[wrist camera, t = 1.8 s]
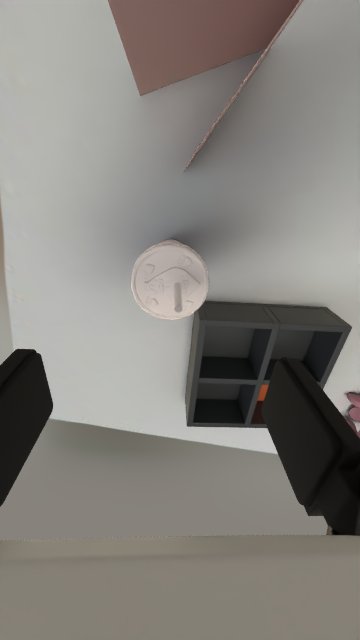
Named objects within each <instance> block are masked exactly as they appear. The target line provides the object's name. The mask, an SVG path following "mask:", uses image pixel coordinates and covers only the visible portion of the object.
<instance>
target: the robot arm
mask: <svg viewBox="0 0 360 640" xmlns="http://www.w3.org/2000/svg"><path fill="white" fill-rule="evenodd" d="M52 410H53V401H52V397H51V393H50V389H49V385H48V381H47V377H46V373H45V369H44V365H43V361H42V357H41V355H40V354H39V353H37V352H36V351H35V350H33V349H16V350H15V351H14V352H13V353H12V354H11V355H10V356H9V357H8V358H7V359H6V360H5V361H4V362H3V363H2V364H1V365H0V506H1V505H2V504H3V502H4V501H5V499H6V497H7V495H8V493H9V491H10V489H11V488H12V486H13V484H14V482H15V480H16V478H17V476H18V475H19V473H20V471H21V469H22V467H23V465H24V463H25V461H26V460H27V458H28V456H29V454H30V452H31V450H32V448H33V446H34V445H35V443H36V441H37V439H38V437H39V435H40V433H41V431H42V430H43V428H44V426H45V424H46V422H47V420H48V418H49V417H50V415H51V413H52ZM262 416H263V418H264V421H265V423H266V426H267V428H268V430H269V433H270V435H271V438H272V440H273V443H274V445H275V447H276V450H277V452H278V455H279V457H280V459H281V461H282V464H283V466H284V469H285V471H286V474H287V476H288V479H289V481H290V483H291V486H292V488H293V491H294V493H295V495H296V498H297V500H298V502H299V503H300V504H301V505H304V507H305V510H306V512H307V514H308V516H324V518H325V520H326V522H327V524H328V529H327V534H326V535H256V536H255V535H246V536H183V537H133V538H132V537H130V538H129V537H128V538H83V539H41V540H5V541H4V540H1V541H0V640H360V438H359V436H358V435H357V434H356V433H355V431H354V430H353V429H352V427H351V426H350V425H349V423H348V422H347V421H346V420H345V418H344V417H343V416H342V414H341V413H340V412H339V411H338V409H337V408H336V407H335V405H334V404H333V403H332V401H331V400H330V399H329V398H328V396H327V395H326V394H325V392H324V391H323V390H322V389H321V387H320V386H319V385H318V383H317V382H316V381H315V380H314V378H313V377H312V376H311V374H310V373H309V372H308V370H307V369H306V368H305V367H304V365H303V364H302V363H301V361H300V360H299V359H298V358H296V357H282V358H281V359H280V361H279V360H278V361H276V363H275V366H274V370H273V373H272V376H271V379H270V382H269V385H268V389H267V392H266V395H265V398H264V401H263V404H262Z"/></svg>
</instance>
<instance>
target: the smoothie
mask: <svg viewBox="0 0 360 640" xmlns="http://www.w3.org/2000/svg"><path fill="white" fill-rule="evenodd" d="M131 289H132V293H133V296H134V298H135V300H136V302H137V303H138V304H139V306H140V307H141V308H142V309H143V310H145V311H146V312H147V313H149V314H150V315H152V316H154V317H157V318H161V319H166V320H175V319H180V318H184V317H186V316H189V315H190V314H192V313H194V312H195V311H196V310H197V309H198V308H199V307H200V306H201V305H202V304H203V302H204V301H205V299H206V297H207V294H208V291H209V275H208V270H207V267H206V265H205V263H204V260H203V259H202V258H201V257H200V255H199V254H198V253H197V252H196V251H194V250H193V249H191V248H190V247H189V246H186V245H183V244H181V243H180V242H179V241H177V240H172V239H169V240H165V241H163V242H161V243H159V244H156V245H154V246H152V247H150V248H148V249H146V250H145V251H144V252H143V253H142V254H141V255H140V256H139V257H138V259H137V261H136V262H135V264H134V267H133V270H132V274H131Z"/></svg>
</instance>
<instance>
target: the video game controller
mask: <svg viewBox="0 0 360 640" xmlns="http://www.w3.org/2000/svg"><path fill="white" fill-rule="evenodd" d="M347 397H348V399H349V401H350V402H351V403H352V404H353V405H355V406H356V407H354V408H352V409H350V412H349V414H350V417H351V418H352V419H353V420H354V421H356V422H359V423H360V396H358V395H355V394H351V393H349V394H348V395H347ZM345 420H346V421H347V422H348V423H349V425H350V426H351V427H352V429H353V430H354V431H355V433H356V434H357V435H358V436H359V438H360V431H359V432H357V430H356V427H355V425H354V424H353V422H351V421H350V420H348V419H345Z"/></svg>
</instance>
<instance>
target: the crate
mask: <svg viewBox="0 0 360 640" xmlns="http://www.w3.org/2000/svg"><path fill="white" fill-rule="evenodd" d="M351 329H352V326H350V325H349V324H348V323H346V322H345V321H344V320H343V319H341V318H340V317H339V316H337V315H336V314H335V313H333V312H332V311H331V310H329V309H328V308H327V307H309V306H289V305H269V304H249V303H229V302H210V301H204V302H203V304H202V305H201V306H200V307H199V308H198V309H197V310H196V311H195V312H194V321H193V331H192V340H191V349H190V359H189V368H188V378H187V387H186V396H185V404H186V420H187V426H188V427H192V426H193V427H239V428H243V427H244V428H267V426H266V423H265V421H264V418H263V416H262V404H263V401H264V398H265V395H266V392H267V389H268V385H269V382H270V379H271V376H272V373H273V370H274V366H275V363H276V361H278V360H279V361H280V359H281V358H282V357H296V358H298V359H299V360H300V361H301V363H302V364H303V365H304V367H305V368H306V369H307V370H308V372H309V373H310V374H311V376H312V377H313V378H314V380H315V381H316V382H317V383H318V385H319V386H320V387H321V389H322V390H323V388H324V386H325V384H326V382H327V380H328V378H329V375H330V373H331V371H332V369H333V367H334V365H335V363H336V361H337V358H338V356H339V354H340V352H341V350H342V348H343V346H344V343H345V341H346V339H347V337H348V335H349V333H350V331H351Z"/></svg>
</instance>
